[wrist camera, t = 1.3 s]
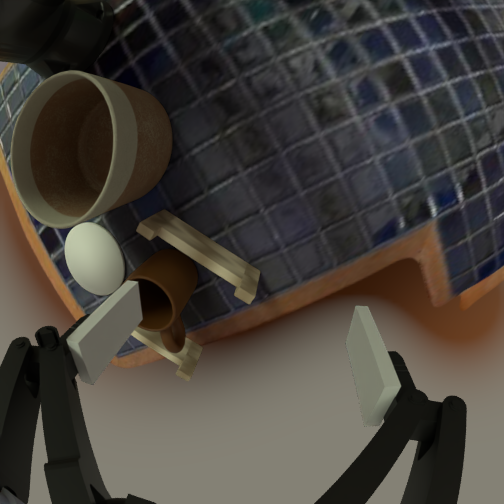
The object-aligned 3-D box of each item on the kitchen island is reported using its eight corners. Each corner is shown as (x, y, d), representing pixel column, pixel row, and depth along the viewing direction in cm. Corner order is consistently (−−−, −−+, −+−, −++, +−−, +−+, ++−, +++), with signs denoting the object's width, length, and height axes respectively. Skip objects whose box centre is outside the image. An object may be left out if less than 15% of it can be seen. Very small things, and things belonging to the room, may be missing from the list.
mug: (217, 317, 41) (201, 358, 33) (172, 324, 43) (149, 363, 34) (188, 240, 38) (160, 268, 29) (141, 253, 39) (107, 282, 30)
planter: (100, 218, 38) (36, 249, 25) (68, 124, 34) (0, 126, 21) (192, 174, 35) (142, 190, 22) (153, 68, 30) (92, 39, 17)
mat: (61, 266, 42) (59, 267, 41) (77, 207, 38) (75, 208, 37) (112, 306, 43) (110, 308, 43) (136, 250, 39) (134, 251, 39)
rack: (121, 301, 43) (99, 323, 36) (164, 208, 37) (140, 222, 30) (199, 351, 44) (187, 381, 37) (260, 271, 38) (255, 296, 32)
